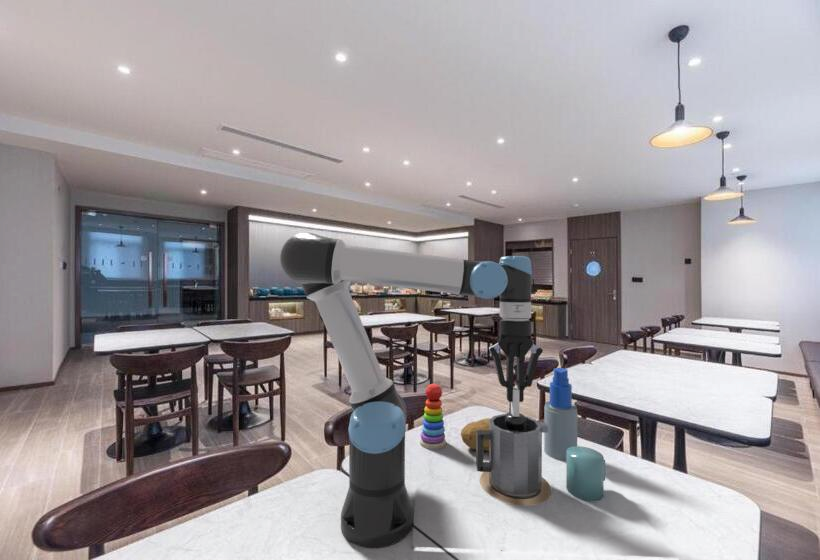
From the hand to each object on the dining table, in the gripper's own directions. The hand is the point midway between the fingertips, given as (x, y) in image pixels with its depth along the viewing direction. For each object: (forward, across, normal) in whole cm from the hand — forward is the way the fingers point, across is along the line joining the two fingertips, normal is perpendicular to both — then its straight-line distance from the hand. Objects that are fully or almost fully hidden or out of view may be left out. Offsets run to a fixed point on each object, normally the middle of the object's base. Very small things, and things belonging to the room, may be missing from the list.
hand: (515, 414), depth 90 cm
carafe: (+17, 0, 0) cm, 17 cm away
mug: (+18, +16, -2) cm, 24 cm away
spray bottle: (+18, +17, +17) cm, 30 cm away
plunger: (+12, 0, 0) cm, 12 cm away
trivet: (+18, 0, 0) cm, 18 cm away
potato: (+18, -4, +19) cm, 26 cm away
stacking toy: (+18, -20, +21) cm, 34 cm away
